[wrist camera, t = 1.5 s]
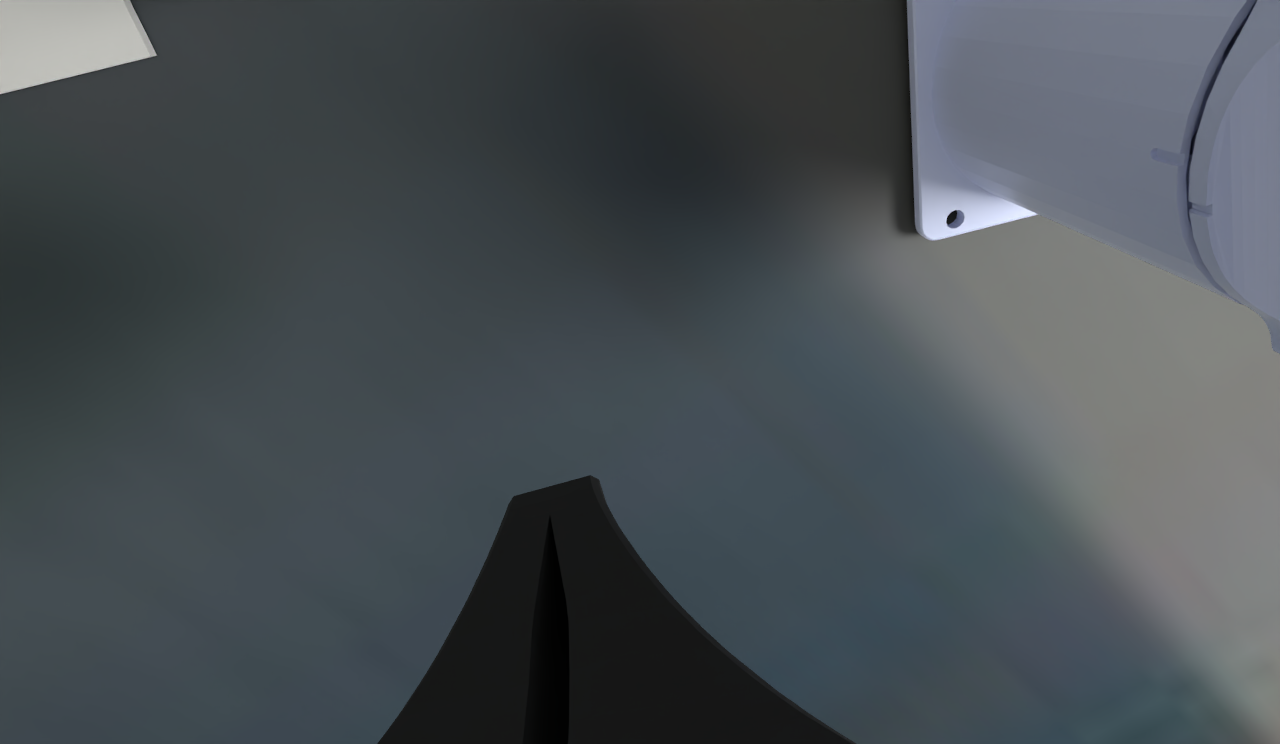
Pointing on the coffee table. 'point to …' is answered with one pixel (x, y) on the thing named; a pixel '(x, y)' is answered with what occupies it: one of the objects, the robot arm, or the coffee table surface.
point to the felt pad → (66, 39)
